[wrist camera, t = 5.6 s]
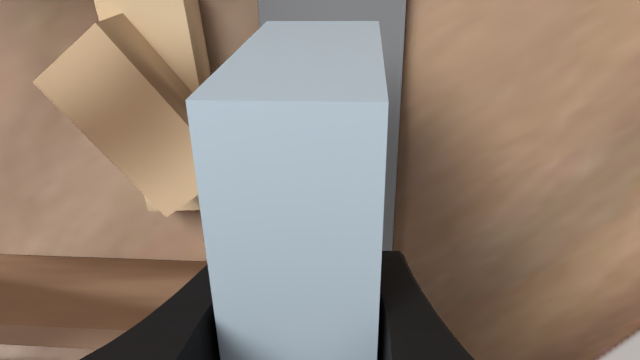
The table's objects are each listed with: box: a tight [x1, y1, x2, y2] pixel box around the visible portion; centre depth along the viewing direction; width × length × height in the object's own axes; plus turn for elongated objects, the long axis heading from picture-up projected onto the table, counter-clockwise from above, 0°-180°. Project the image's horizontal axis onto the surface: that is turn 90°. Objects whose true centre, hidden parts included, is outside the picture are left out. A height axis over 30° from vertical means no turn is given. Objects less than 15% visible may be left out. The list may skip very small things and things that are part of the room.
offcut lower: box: [94, 0, 211, 211], centre depth 19 cm, size 8×3×2 cm, turn 4°
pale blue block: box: [185, 21, 389, 360], centre depth 13 cm, size 11×3×7 cm, turn 1°
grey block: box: [258, 0, 406, 251], centre depth 20 cm, size 14×5×1 cm, turn 1°
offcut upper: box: [33, 13, 198, 218], centre depth 18 cm, size 6×3×2 cm, turn 38°
